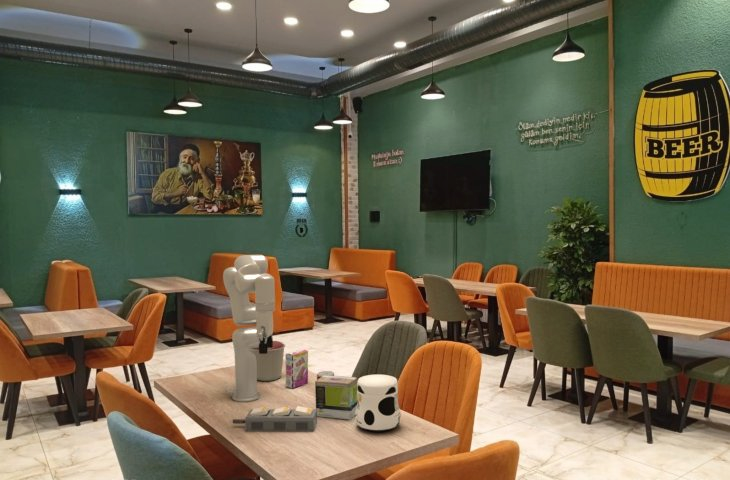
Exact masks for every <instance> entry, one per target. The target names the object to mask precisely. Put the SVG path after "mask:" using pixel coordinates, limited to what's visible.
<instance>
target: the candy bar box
mask: <svg viewBox="0 0 730 480" xmlns="http://www.w3.org/2000/svg"><path fill="white" fill-rule="evenodd" d="M307 384H309V351H308V350H306V349H297V350H294V351H289V352H287V353H286V352H285V388H288V389H290V390H293V389H296V388H299V387H302V386H305V385H307Z"/></svg>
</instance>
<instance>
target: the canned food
mask: <svg viewBox="0 0 730 480" xmlns="http://www.w3.org/2000/svg"><path fill="white" fill-rule="evenodd" d="M324 375H330V376H335V372H333V371H330V370H321V371H319V372H317V373H316V380H318V379H319V378H321V377H322V376H324Z"/></svg>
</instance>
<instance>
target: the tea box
mask: <svg viewBox="0 0 730 480" xmlns="http://www.w3.org/2000/svg"><path fill="white" fill-rule="evenodd" d="M357 382H358V378H357V377H356V376H346V375H345V376H344V375H343V376H342V375H341V376H340V375H334V376H330V375H324V376H322V377H321V378H319V379H318V380H317V379H316V380H315V384H314V385H315V386H314V387H315V388H314V389H315V390H314V391H315V392H314V393H315V409H317V417H323V418H332V419H339V420H340V419H342V420H349V421H350V420H351V419H353V417H354V416H355V411H356V407H357V401H358V398H357V390H358V389H357Z"/></svg>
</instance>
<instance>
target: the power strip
mask: <svg viewBox="0 0 730 480" xmlns="http://www.w3.org/2000/svg"><path fill="white" fill-rule="evenodd" d="M253 409H254V408H250V410H249V412H248V413H247V414H246V415H245V418H243V419H242V418H235V419H232V424H236V425H237V424H243V425H244V424H245V427H244V428H245V429H244V430H245V432H314V431H315V429H316V427H317V424H318V416H317V409H316V408H315V409H314V408H312V409H313V410H312V413H311V415H310V416H299V415H295V410H296V408H291V411H290V413H289V414H288V415H284V416H273V414H272V413H273V412H274V410H275V409H276V408H272V409H271V408H269V411H268V413H267V414H266V415H261V416H251V415H250V413H251V412H252V410H253Z"/></svg>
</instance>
